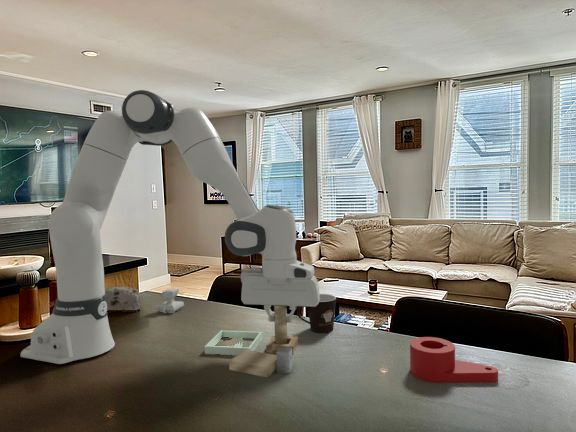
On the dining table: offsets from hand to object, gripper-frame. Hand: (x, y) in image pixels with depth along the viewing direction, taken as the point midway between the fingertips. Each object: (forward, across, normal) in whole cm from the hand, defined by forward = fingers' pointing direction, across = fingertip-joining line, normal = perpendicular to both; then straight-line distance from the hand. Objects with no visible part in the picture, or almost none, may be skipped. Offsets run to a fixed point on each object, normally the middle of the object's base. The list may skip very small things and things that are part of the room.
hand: (280, 321), depth 108 cm
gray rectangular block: (+8, +3, -12) cm, 14 cm away
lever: (+8, +40, -9) cm, 42 cm away
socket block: (+8, 0, 0) cm, 8 cm away
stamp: (+8, -45, +27) cm, 53 cm away
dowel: (+6, 0, 0) cm, 6 cm away
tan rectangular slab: (+8, -4, -11) cm, 14 cm away
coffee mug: (+8, +7, +15) cm, 19 cm away
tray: (+8, -13, 0) cm, 15 cm away
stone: (+9, -63, +25) cm, 68 cm away
